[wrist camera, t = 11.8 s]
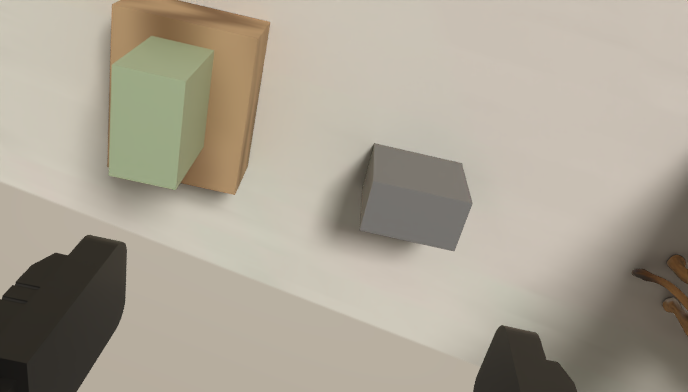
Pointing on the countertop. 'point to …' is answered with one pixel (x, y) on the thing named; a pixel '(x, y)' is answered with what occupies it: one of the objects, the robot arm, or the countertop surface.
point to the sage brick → (159, 111)
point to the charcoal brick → (414, 198)
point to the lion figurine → (671, 288)
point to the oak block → (226, 81)
